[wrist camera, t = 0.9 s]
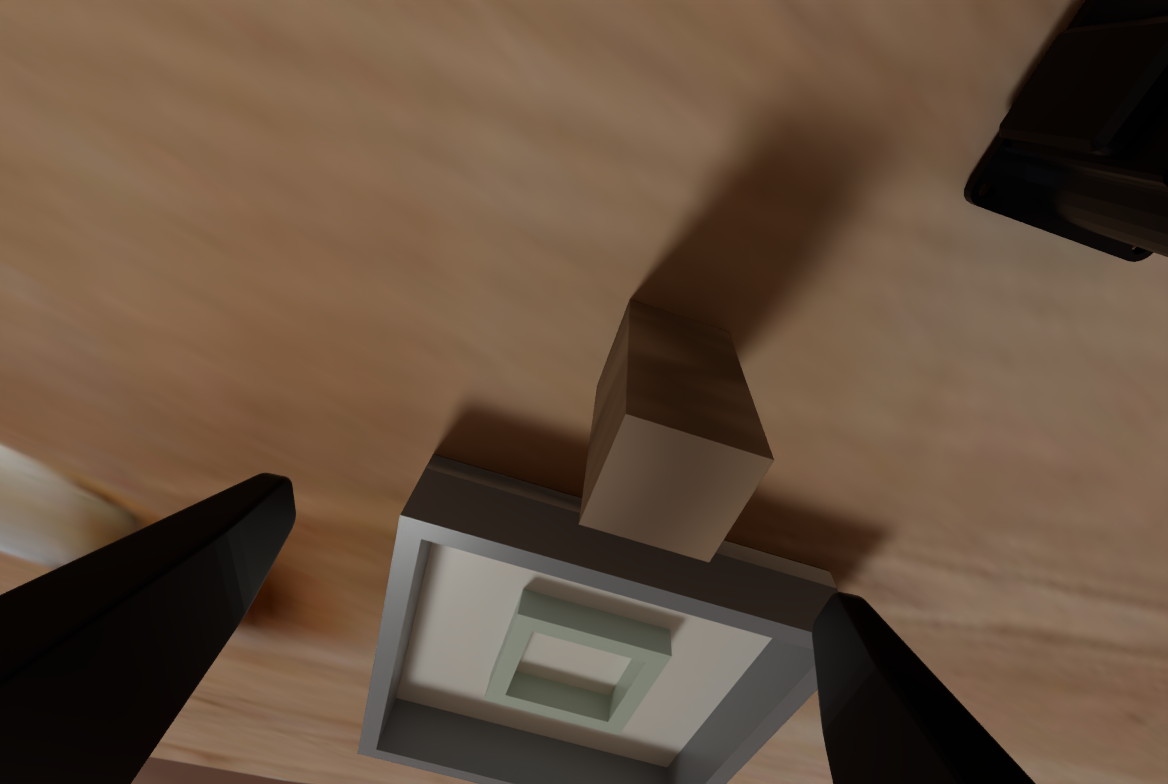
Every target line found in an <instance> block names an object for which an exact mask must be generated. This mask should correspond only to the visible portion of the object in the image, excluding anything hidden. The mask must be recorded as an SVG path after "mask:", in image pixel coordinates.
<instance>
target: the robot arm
mask: <svg viewBox="0 0 1168 784" xmlns="http://www.w3.org/2000/svg"><path fill="white" fill-rule="evenodd" d="M987 182H990V188H989V190H988V192H987V193H986V194H984V195H982V196H980V195H979V191H980V188H981V187H982V186H983V185H984V184H985V183H987ZM964 197H965V199H966V201H968V202H969V203H971V204H973V205H976V206H979V207H981V208H984V209H987V210H990V211H992V212H995V213H998V214H1001V215H1003V216H1006V217H1009V218H1012V219H1014V220H1017V221H1020V222H1023V223H1025V224H1028V225H1031V226H1034V227H1036V228H1039V229H1042V230H1045V231H1047V232H1050V233H1053V234H1056V235H1058V236H1061V237H1064V238H1067V239H1069V240H1072V241H1075V242H1077V243H1080V244H1083V245H1086V246H1088V247H1091V248H1094V249H1097V250H1099V251H1102V252H1105V253H1108V254H1110V255H1113V256H1116V257H1119V258H1121V259H1124V260H1127V261H1132V262H1136V261H1141V260H1143V259H1145V258H1147V257H1149V256H1150V255H1151V254H1152V253H1157V254H1160V255H1163V256H1166V257H1168V0H1086V1H1085V2H1084V4H1083V5H1082V7H1081V8H1080V10H1079V11H1078V13H1077V15H1076V16H1075V18H1074V19H1073V21H1072V22H1071V24H1070V25H1069V27H1068V28H1067V30H1066V31H1065V32H1063V33H1061V34H1059V35H1058V36H1057V37H1056V39H1055V40H1054V42H1053V44H1052V45H1051V47H1050V48H1049V50H1048V51H1047V53H1046V54H1045V56H1044V57H1043V59H1042V61H1041V62H1040V64H1039V65H1038V67H1037V68H1036V70H1035V71H1034V73H1033V75H1032V76H1031V78H1030V79H1029V81H1028V82H1027V84H1026V85H1025V87H1024V88H1023V90H1022V92H1021V93H1020V95H1019V96H1018V98H1017V99H1016V101H1015V102H1014V104H1013V105H1012V107H1011V109H1010V110H1009V112H1008V113H1007V115H1006V116H1005V118H1004V119H1003V121H1002V123H1001V124H1000V127H999V135H998V136H997V138H996V139H995V141H994V142H993V144H992V145H991V147H990V148H989V150H988V151H987V153H986V154H985V156H984V158H983V159H982V161H981V162H980V164H979V165H978V167H977V168H976V170H975V171H974V173H973V174H972V176H971V178H970V179H969V181H968V182H967V184H966V186H965V189H964ZM1133 245H1134V246H1137V247H1136V248H1135V249H1133V250H1132V247H1133ZM295 518H296V510H295V502H294V495H293V487H292V482H291V480H290V479H289V478H287V477H285V476H280V475H276V474H271V473H261V474H258V475H256V476H254V477H252V478H249V479H247V480H245V481H243V482H241V483H239V484H237V485H234V486H232V487H230V488H228V489H226V490H224V491H222V492H219V493H217V494H215V495H213V496H211V497H209V498H207V499H205V500H202V501H200V502H198V503H196V504H194V505H192V506H190V507H187V508H185V509H183V510H181V511H179V512H177V513H175V514H172V515H170V516H168V517H166V518H164V519H162V520H160V521H157V522H155V523H153V524H151V525H149V526H147V527H145V528H143V529H140V530H138V531H136V532H134V533H132V534H130V535H128V536H125V537H123V538H121V539H119V540H117V541H115V542H113V543H110V544H108V545H106V546H104V547H102V548H100V549H98V550H95V551H93V552H91V553H89V554H87V555H85V556H83V557H81V558H78V559H76V560H74V561H72V562H70V563H68V564H66V565H63V566H61V567H59V568H57V569H55V570H53V571H51V572H48V573H46V574H44V575H42V576H40V577H38V578H36V579H33V580H31V581H29V582H27V583H25V584H23V585H21V586H18V587H16V588H14V589H12V590H10V591H8V592H6V593H4V594H1V595H0V784H131V783H132V781H133V780H134V778H135V777H136V775H137V774H138V772H139V771H140V769H141V768H142V767H143V765H144V764H145V762H146V761H147V759H148V758H149V756H150V755H151V753H152V752H153V750H154V749H155V747H156V746H157V744H158V743H159V742H160V740H161V739H162V737H163V736H164V734H165V733H166V731H167V730H168V728H169V727H170V725H171V724H172V722H173V721H174V719H175V718H176V716H177V715H178V714H179V712H180V711H181V709H182V708H183V706H184V705H185V703H186V702H187V700H188V699H189V697H190V696H191V694H192V693H193V691H194V690H195V689H196V687H197V686H198V684H199V683H200V681H201V680H202V678H203V677H204V675H205V674H206V672H207V671H208V669H209V668H210V666H211V665H212V664H213V662H214V661H215V659H216V658H217V656H218V655H219V653H220V652H221V650H222V649H223V647H224V646H225V644H226V643H227V641H228V640H229V638H230V637H231V636H232V634H233V633H234V631H235V630H236V628H237V627H238V625H239V624H240V622H241V620H242V619H243V617H244V616H245V614H246V613H247V611H248V609H249V607H250V606H251V604H252V602H253V600H254V599H255V597H256V595H257V593H258V591H259V589H260V587H261V586H262V584H263V582H264V580H265V578H266V576H267V574H268V573H269V571H270V569H271V567H272V565H273V563H274V561H275V560H276V558H277V556H278V554H279V552H280V550H281V548H282V547H283V545H284V543H285V541H286V539H287V537H288V535H289V534H290V532H291V530H292V528H293V525H294V522H295ZM812 642H813V651H814V660H815V670H816V679H817V688H818V697H819V707H820V716H821V723H822V730H823V736H824V741H825V747H826V752H827V756H828V761H829V766H830V771H831V775H832V780H833V784H1035V782H1034V781H1033V780H1032V779H1031V778H1030V777H1029V776H1028V775H1027V774H1026V773H1025V772H1024V771H1023V770H1022V768H1021V767H1020V766H1019V765H1018V764H1017V763H1016V762H1015V761H1014V760H1013V759H1012V758H1011V757H1010V756H1009V754H1008V753H1007V752H1006V751H1005V750H1004V749H1003V748H1002V747H1001V746H1000V745H999V744H998V743H997V742H996V740H995V739H994V738H993V737H992V736H991V735H990V734H989V733H988V732H987V731H986V730H985V729H984V727H983V726H982V725H981V724H980V723H979V722H978V721H977V720H976V719H975V718H974V717H973V716H972V715H971V713H970V712H969V711H968V710H967V709H966V708H965V707H964V706H963V705H962V704H961V703H960V702H959V701H958V699H957V698H956V697H955V696H954V695H953V694H952V693H951V692H950V691H949V690H948V689H947V688H946V687H945V685H944V684H943V683H942V682H941V681H940V680H939V679H938V678H937V677H936V676H935V675H934V674H933V673H932V671H931V670H930V669H929V668H928V667H927V666H926V665H925V664H924V663H923V662H922V661H921V660H920V659H919V657H918V656H917V655H916V654H915V653H914V652H913V651H912V650H911V649H910V648H909V647H908V646H907V644H906V643H905V642H904V641H903V640H902V639H901V638H900V637H899V636H898V635H897V634H896V633H895V632H894V630H893V629H892V628H891V627H890V626H889V625H888V624H887V623H886V622H885V621H884V620H883V619H882V618H881V616H880V615H879V614H878V613H877V612H876V611H875V610H874V609H873V608H872V607H871V606H870V605H869V604H868V602H867V601H866V600H864V599H863V598H862V597H860V596H857V595H853V594H848V593H843V592H835V593H833V594H832V595H831V596H830V598H829V599H828V601H827V602H826V604H825V605H824V607H823V608H822V610H821V611H820V613H819V615H818V616H817V618H816V619H815V621H814V624H813V627H812Z"/></svg>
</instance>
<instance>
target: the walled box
mask: <svg viewBox="0 0 1168 784" xmlns="http://www.w3.org/2000/svg"><path fill="white" fill-rule="evenodd" d="M581 503H582V498H579V497H576V496H572V495H569V494H566V493H562V492H559V491H556V490H552V489H549V488H545V487H542V486H539V485H535V484H532V483H529V482H525V481H522V480H518V479H515V478H512V477H508V476H505V475H502V474H498V473H495V472H491V471H488V470H485V469H481V468H478V467H475V466H471V465H468V464H464V463H461V462H458V461H454V460H451V459H447V458H444V457H441V456H437V455H434V454H433V455H432V457H431V459H430V461H429V463H428V464H427V466H426V468H425V470H424V472H423V474H422V476H421V477H420V479H419V481H418V483H417V485H416V487H415V488H414V490H413V492H412V494H411V496H410V498H409V500H408V501H407V503H406V505H405V507H404V509H403V511H402V512H401V514H400V519H399V524H398V530H397V535H396V541H395V547H394V552H393V558H392V563H391V569H390V575H389V580H388V586H387V592H386V597H385V603H384V608H383V614H382V620H381V625H380V631H379V636H378V642H377V648H376V653H375V659H374V665H373V670H372V676H371V681H370V687H369V693H368V698H367V704H366V709H365V715H364V721H363V726H362V732H361V738H360V743H359V749H358V754H362V755H366V756H370V757H374V758H378V759H382V760H386V761H390V762H394V763H398V764H402V765H406V766H410V767H414V768H418V769H422V770H426V771H430V772H434V773H438V774H442V775H446V776H451V777H455V778H459V779H463V780H467V781H471V782H475V783H479V784H726V783H727V782H728V781H729V780H730V779H731V778H732V777H733V776H734V775H735V774H736V773H737V772H738V771H739V770H740V769H741V768H742V767H743V766H744V765H745V764H746V763H747V762H748V761H749V760H750V759H751V757H752V756H753V755H754V754H755V753H756V752H757V751H758V750H759V749H760V748H761V747H762V746H763V745H764V744H765V743H766V742H767V741H768V740H769V739H770V738H771V737H772V736H773V735H774V734H775V733H776V732H777V731H778V730H779V728H780V727H781V726H782V725H783V724H784V723H785V722H786V721H787V720H788V719H789V718H790V717H791V716H792V715H793V714H794V713H795V712H796V711H797V710H798V709H799V708H800V707H801V706H802V705H803V704H804V703H805V702H806V701H807V699H808V698H809V697H810V696H811V695H812V694H813V693H814V692H815V691H816V690H817V689H818V688H817V679H816V670H815V660H814V651H813V642H812V627H813V624H814V621H815V619H816V618H817V616H818V615H819V613H820V611H821V610H822V608H823V607H824V605H825V604H826V602H827V601H828V599H829V598H830V596H831V595H832V594H833V593H835V592H838V590H837V588H836V585H835V583H834V580H833V578H832V575H831V573H830V572H829V571H826V570H823V569H819V568H816V567H812V566H809V565H806V564H802V563H799V562H795V561H792V560H789V559H785V558H782V557H779V556H775V555H772V554H768V553H765V552H762V551H758V550H755V549H752V548H748V547H745V546H741V545H738V544H735V543H731V542H728V541H725V540H723V541H722V543H721V545H720V546H719V548H718V549H717V551H716V552H715V554H714V556H713V557H712V559H711V560H710V562H706V561H702V560H699V559H696V558H692V557H689V556H685V555H682V554H678V553H675V552H672V551H668V550H665V549H661V548H658V547H655V546H651V545H648V544H644V543H641V542H637V541H634V540H631V539H627V538H624V537H620V536H617V535H613V534H610V533H607V532H603V531H600V530H596V529H593V528H590V527H586V526H583V525H579V518H580V511H581Z"/></svg>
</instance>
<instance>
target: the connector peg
mask: <svg viewBox="0 0 1168 784" xmlns="http://www.w3.org/2000/svg"><path fill="white" fill-rule="evenodd" d="M773 461H774V458H773V456H772V453H771V450H770V447H769V444H768V442H767V439H766V436H765V433H764V430H763V427H762V425H761V422H760V419H759V416H758V413H757V411H756V408H755V405H754V402H753V399H752V397H751V394H750V391H749V388H748V385H747V383H746V380H745V377H744V374H743V371H742V368H741V366H740V363H739V360H738V357H737V354H736V352H735V349H734V346H733V343H732V340H731V338H730V335H729V332H727V331H724V330H721V329H718V328H715V327H712V326H709V325H706V324H703V323H700V322H697V321H694V320H691V319H688V318H685V317H682V316H679V315H675V314H672V313H669V312H666V311H663V310H660V309H657V308H654V307H651V306H648V305H645V304H642V303H639V302H636V301H633V300H629V303H628V305H627V308H626V311H625V313H624V316H623V319H622V321H621V324H620V326H619V329H618V332H617V334H616V337H615V340H614V342H613V345H612V348H611V350H610V353H609V356H608V358H607V361H606V364H605V366H604V369H603V371H602V374H601V377H600V379H599V382H598V385H597V390H596V397H595V405H594V412H593V420H592V428H591V435H590V443H589V450H588V458H587V465H586V473H585V480H584V488H583V496H582V503H581V511H580V518H579V525H583V526H586V527H590V528H593V529H596V530H600V531H603V532H607V533H610V534H613V535H617V536H620V537H624V538H627V539H631V540H634V541H637V542H641V543H644V544H648V545H651V546H655V547H658V548H661V549H665V550H668V551H672V552H675V553H678V554H682V555H685V556H689V557H692V558H696V559H699V560H702V561H706V562H710V560H711V559H712V557H713V556H714V554H715V552H716V551H717V549H718V548H719V546H720V545H721V543H722V541H723V540H724V538H725V537H726V535H727V534H728V532H729V530H730V529H731V527H732V526H733V524H734V523H735V521H736V519H737V518H738V516H739V515H740V513H741V512H742V510H743V508H744V507H745V505H746V504H747V502H748V501H749V499H750V497H751V496H752V494H753V493H754V491H755V490H756V488H757V486H758V485H759V483H760V482H761V480H762V479H763V477H764V475H765V474H766V472H767V471H768V469H769V467H770V466H771V464H772V463H773Z"/></svg>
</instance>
